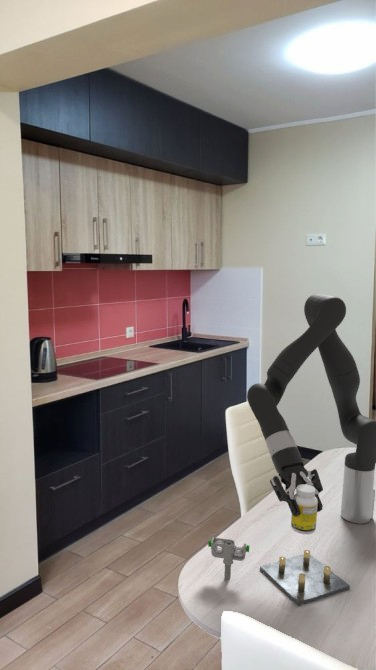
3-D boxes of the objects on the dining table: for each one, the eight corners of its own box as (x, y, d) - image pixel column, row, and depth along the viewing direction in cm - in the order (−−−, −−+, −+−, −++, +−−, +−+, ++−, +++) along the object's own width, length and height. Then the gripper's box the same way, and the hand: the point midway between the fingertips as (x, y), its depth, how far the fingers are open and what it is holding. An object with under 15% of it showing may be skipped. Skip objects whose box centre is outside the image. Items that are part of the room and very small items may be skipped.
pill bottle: (288, 522, 136) (290, 482, 134) (311, 522, 136) (314, 482, 135) (294, 535, 130) (297, 493, 128) (318, 535, 130) (321, 493, 129)
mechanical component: (246, 585, 130) (248, 548, 129) (206, 579, 132) (207, 542, 131) (247, 578, 133) (249, 541, 132) (208, 572, 135) (209, 536, 134)
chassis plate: (308, 556, 144) (309, 541, 144) (349, 589, 130) (351, 572, 130) (259, 569, 137) (260, 553, 137) (298, 606, 123) (299, 588, 123)
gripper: (267, 449, 134) (292, 513, 125) (312, 442, 140) (339, 503, 131) (255, 461, 139) (278, 523, 131) (298, 454, 146) (323, 513, 137)
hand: (308, 513), depth 131 cm, fingers closed on pill bottle, 6 cm apart
